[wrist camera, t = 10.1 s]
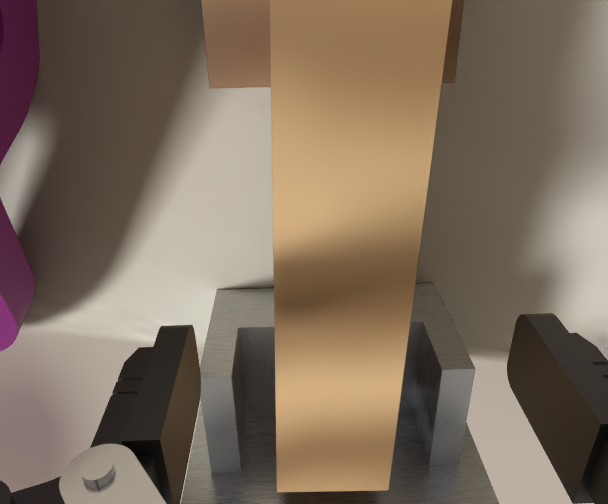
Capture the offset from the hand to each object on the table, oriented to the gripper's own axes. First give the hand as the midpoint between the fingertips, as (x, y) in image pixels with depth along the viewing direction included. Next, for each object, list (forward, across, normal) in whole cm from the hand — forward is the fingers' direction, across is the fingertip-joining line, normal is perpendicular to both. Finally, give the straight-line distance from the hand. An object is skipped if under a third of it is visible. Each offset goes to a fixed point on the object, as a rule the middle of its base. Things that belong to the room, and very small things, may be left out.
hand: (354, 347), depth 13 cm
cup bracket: (+10, 0, +9) cm, 13 cm away
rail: (+7, 0, 0) cm, 7 cm away
